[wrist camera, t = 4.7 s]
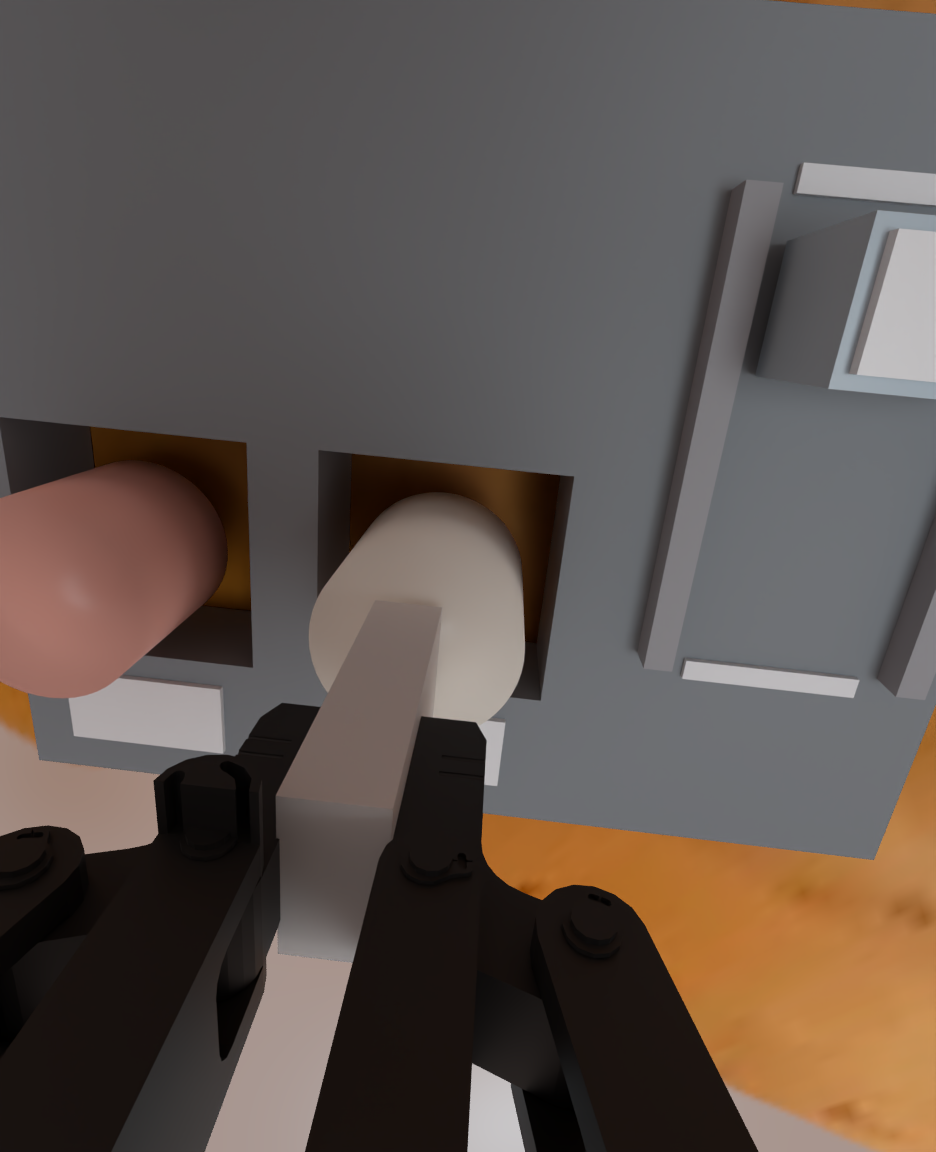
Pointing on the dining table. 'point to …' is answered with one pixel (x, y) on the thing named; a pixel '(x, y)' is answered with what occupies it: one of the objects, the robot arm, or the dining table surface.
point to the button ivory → (435, 598)
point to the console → (497, 364)
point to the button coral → (101, 573)
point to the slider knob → (857, 308)
